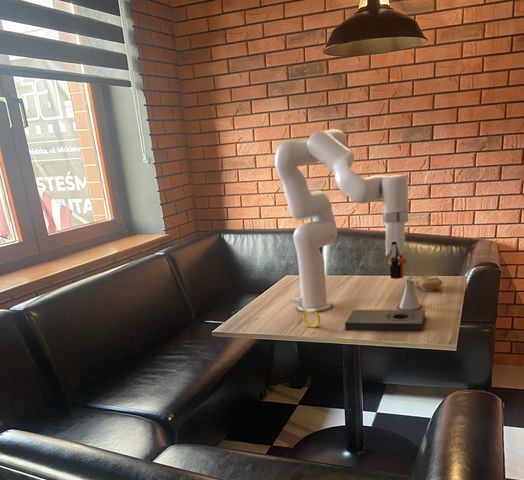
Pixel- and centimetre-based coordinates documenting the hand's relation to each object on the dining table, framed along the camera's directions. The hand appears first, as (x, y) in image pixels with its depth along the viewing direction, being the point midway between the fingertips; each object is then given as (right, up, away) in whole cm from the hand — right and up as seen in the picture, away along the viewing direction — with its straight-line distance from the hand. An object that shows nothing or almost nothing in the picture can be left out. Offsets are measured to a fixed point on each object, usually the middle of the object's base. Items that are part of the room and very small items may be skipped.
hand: (397, 274), depth 170 cm
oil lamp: (+21, 0, +42) cm, 47 cm away
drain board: (-2, -15, +7) cm, 17 cm away
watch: (-26, -16, +12) cm, 33 cm away
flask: (+10, -9, +21) cm, 25 cm away
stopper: (0, -1, 0) cm, 1 cm away
